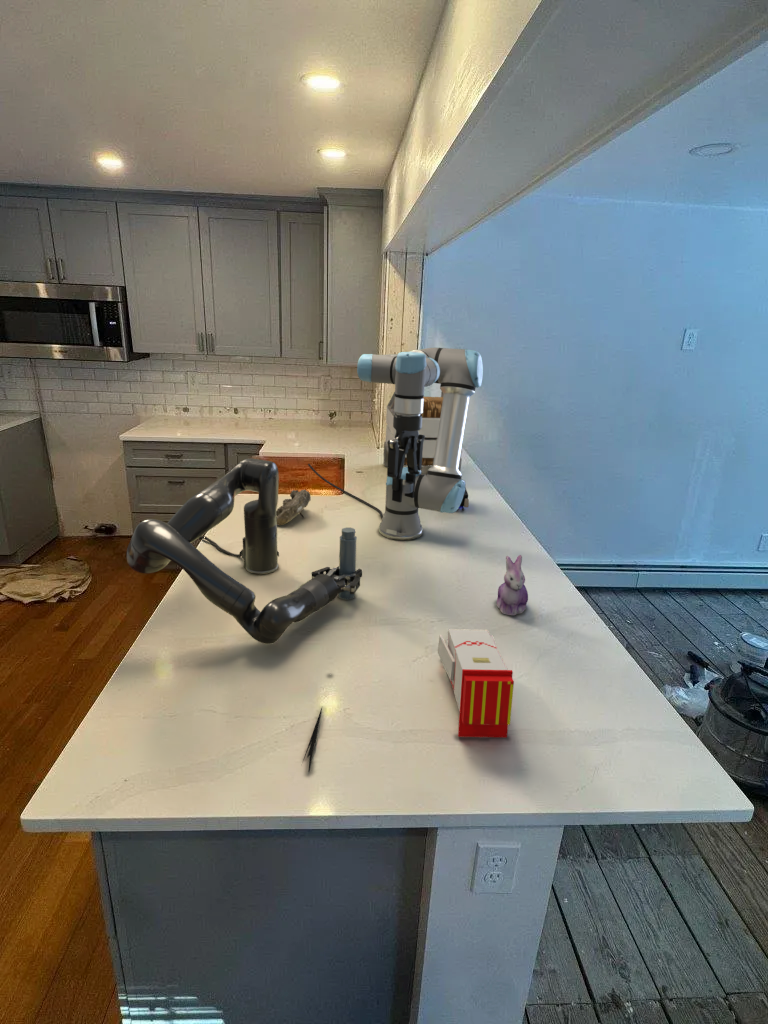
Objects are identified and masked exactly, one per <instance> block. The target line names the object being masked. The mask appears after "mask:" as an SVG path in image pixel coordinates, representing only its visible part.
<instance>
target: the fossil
mask: <svg viewBox="0 0 768 1024" xmlns="http://www.w3.org/2000/svg"><path fill="white" fill-rule="evenodd" d="M289 497H290V498H285V499H284V500H282V505H281V506H279V507H277V526H283V525H286V524H288V523H289V522H291V521H292V520H294V518H296V517H297V516H299V515H300V516H301V518H305V517H304V515H303V514H302V511H303V510H304V509H305V508H307V506H308V504H309V502H311V494H310V492H309V491H307V490H306V489H301V490H300V491H299V490H298V489H296V490H295V489H293V490H291V492H290V495H289Z"/></svg>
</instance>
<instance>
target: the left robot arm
mask: <svg viewBox="0 0 768 1024" xmlns="http://www.w3.org/2000/svg"><path fill="white" fill-rule="evenodd" d="M279 484H280V472H279V468H278V466H277V464H276V463H275V462H274V461H271V460H266V459H260V458H259V459H258V458H253V457H252V458H245V459H243V460H240V462H238V463H237V464H236V465H234V467H233V468H231V470H229V471H228V472H227V473H226V474H224V475H223V476H222V477H219V479H217V480H216V481H214V482H213V483H212V484H210V485H208V486H207V487H205V488H203V489H202V490H200V491H198V492H197V493H196V494H194V495H192V496H191V497H190V498H189V499H188V500H186V502H184V503H183V505H182V506H180V508H179V509H178V510H177V511H176V512H175V513H174V515H172V517H171V518H170V519H169V521H167V522H165V521H163V520H161V519H156V518H148V519H144V520H142V521H140V522H139V523H138V524H137V525H136V527H135V529H134V530H133V533H132V536H131V538H130V540H129V542H128V545H127V548H126V552H125V553H126V554H125V555H126V557H125V559H126V563H127V564H128V566H129V568H131V570H133V571H135V572H137V573H139V574H153V573H156V572H159V571H161V570H163V569H165V567H167V566H168V564H170V563H171V562H173V563H174V564H175V565H177V566H178V567H180V568H181V569H182V570H183V571H184V572H185V573H186V574H187V575H188V576H189V578H190V579H191V580H192V582H193V583H194V585H195V586H196V588H198V590H199V591H200V592H201V594H202V595H203V596H204V597H205V598H206V599H207V600H208V601H209V602H210V603H211V604H213V605H214V606H216V607H217V608H218V609H220V610H222V611H223V612H225V613H226V614H228V615H230V616H231V617H233V618H234V619H235V620H236V622H237V623H238V624H239V626H241V628H243V629H244V630H245V632H246V633H247V634H248V635H249V636H250V637H251V638H252V639H254V641H256V642H258V643H260V644H264V645H273V644H275V643H276V642H278V641H279V639H280V638H281V637H282V636H283V635H284V633H285V632H286V631H287V630H288V628H289V627H290V626H291V625H292V624H293V623H300V622H302V621H304V620H305V619H307V618H308V617H310V616H311V615H312V614H314V613H316V612H318V611H320V610H322V609H323V608H325V607H326V606H327V605H328V604H330V603H331V602H333V601H334V600H335V599H336V598H337V597H338V594H339V593H341V592H344V591H345V590H346V591H350V594H355V595H356V593H357V591H358V590H359V588H360V586H361V578H362V577H363V569H362V568H358V569H356V571H355V572H353V573H352V574H350V575H347V574H345V575H342V576H339V565H338V566H337V567H336V566H335V567H333V568H331V567H330V566H325V567H323V568H320V569H317V570H314V571H312V572H311V579H309V580H307V581H306V582H304V583H303V584H301V585H300V586H298V588H297V589H294V590H293V591H291V592H290V593H288V594H287V595H283V596H280V597H276V598H275V599H272V600H270V601H269V602H268V603H266V605H264V606H263V608H262V609H261V611H260V610H259V609H258V608H257V606H256V604H255V602H256V593H255V592H254V591H253V590H252V589H250V588H249V587H247V586H245V585H244V584H243V583H241V582H240V581H238V580H236V579H235V578H234V577H232V576H230V575H229V574H228V573H226V572H224V571H223V570H222V569H220V568H219V567H218V566H217V565H216V564H214V563H213V562H212V561H211V560H210V559H209V558H207V556H205V555H204V554H203V553H202V552H201V551H200V550H199V549H197V547H195V546H194V545H193V544H192V543H193V542H195V541H196V540H197V539H198V540H199V541H201V540H206V541H207V542H209V543H210V544H212V545H213V546H214V547H215V548H216V549H217V550H218V551H220V552H222V553H224V554H226V555H229V556H231V557H235V558H241V559H242V560H243V568H244V569H245V570H246V571H247V572H248V573H250V574H254V575H267V574H271V573H273V572H276V571H277V570H278V568H279V562H278V560H279V559H278V558H279V557H280V553H279V550H278V525H277V509H278V505H279V504H278V503H279V486H280V485H279ZM246 491H247V492H255V493H258V497H257V499H253V500H250V501H248V502H246V503H245V504H244V506H243V519H244V520H243V521H244V522H243V523H244V537H242V549H241V550H240V551H239V553H238V554H236V553H232V552H230V551H228V550H226V549H224V548H223V547H221V546H220V545H219V544H218V543H216V542H215V541H214V540H212V539H211V538H209V537H207V536H205V534H206V533H208V532H209V531H210V530H212V529H213V528H215V527H216V526H218V525H219V524H220V523H222V522H224V520H225V519H227V518H228V517H229V516H230V515H231V514H232V512H233V509H234V508H235V497H236V496H238V495H239V494H240V493H243V492H246ZM204 537H205V539H204ZM350 578H351V581H350Z"/></svg>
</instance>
